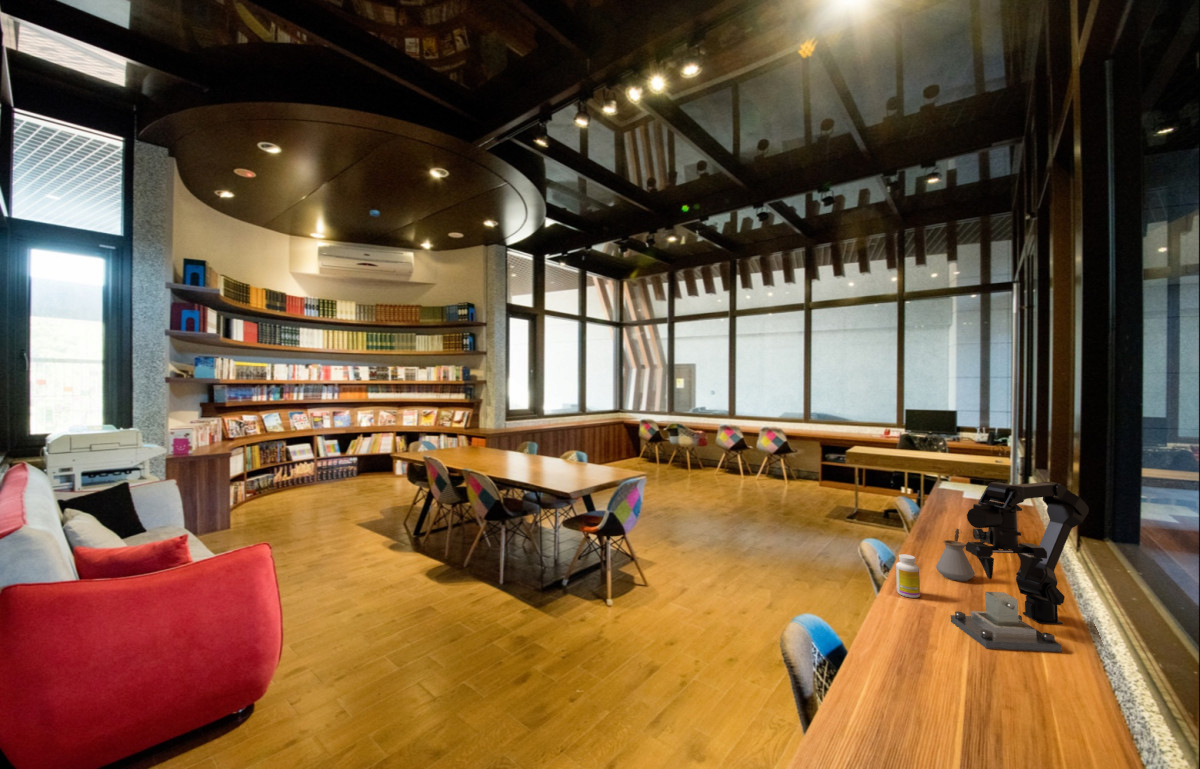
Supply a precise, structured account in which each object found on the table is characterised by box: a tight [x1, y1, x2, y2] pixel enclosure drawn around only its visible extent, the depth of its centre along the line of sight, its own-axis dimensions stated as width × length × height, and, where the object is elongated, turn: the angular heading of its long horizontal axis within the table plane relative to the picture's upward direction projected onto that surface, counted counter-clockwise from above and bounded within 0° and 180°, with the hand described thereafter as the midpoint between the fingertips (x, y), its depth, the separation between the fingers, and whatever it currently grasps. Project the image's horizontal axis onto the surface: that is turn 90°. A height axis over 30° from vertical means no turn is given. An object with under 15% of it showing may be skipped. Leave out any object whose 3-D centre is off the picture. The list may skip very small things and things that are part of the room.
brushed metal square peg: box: [984, 591, 1019, 627], centre depth 129 cm, size 5×6×9 cm
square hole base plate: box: [950, 610, 1062, 653], centre depth 129 cm, size 18×15×4 cm
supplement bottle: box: [895, 553, 921, 599], centre depth 158 cm, size 7×7×13 cm
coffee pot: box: [935, 528, 976, 582], centre depth 176 cm, size 21×12×15 cm, turn 137°
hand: (1006, 579), depth 137 cm, fingers open, 9 cm apart
